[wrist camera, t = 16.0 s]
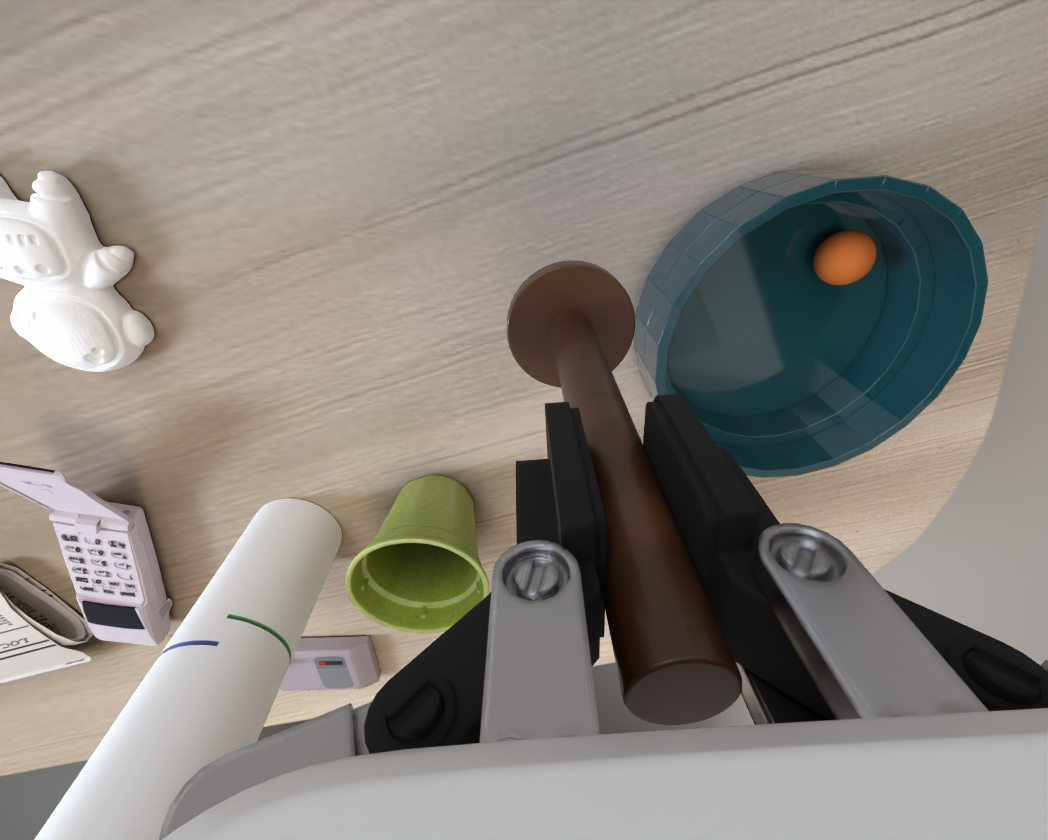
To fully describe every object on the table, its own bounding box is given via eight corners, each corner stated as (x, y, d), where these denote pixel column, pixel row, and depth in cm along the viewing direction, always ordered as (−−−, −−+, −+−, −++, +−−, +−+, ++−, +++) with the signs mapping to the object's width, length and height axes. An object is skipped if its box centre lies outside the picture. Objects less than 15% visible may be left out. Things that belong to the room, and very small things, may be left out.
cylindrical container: (245, 496, 38) (-103, 965, 17) (335, 499, 38) (108, 962, 17) (265, 559, 42) (1, 1008, 20) (347, 561, 42) (173, 1006, 21)
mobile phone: (65, 475, 29) (142, 697, 42) (133, 425, 34) (183, 637, 47) (-43, 459, 29) (68, 690, 41) (43, 411, 34) (118, 629, 46)
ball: (858, 209, 26) (901, 243, 25) (832, 247, 29) (869, 280, 28) (815, 234, 26) (857, 270, 25) (793, 270, 29) (830, 304, 28)
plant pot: (473, 555, 42) (464, 646, 34) (366, 528, 40) (333, 618, 33) (509, 476, 37) (509, 561, 30) (392, 442, 36) (360, 523, 28)
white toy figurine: (120, 180, 26) (77, 185, 24) (167, 374, 32) (136, 395, 30) (-55, 150, 25) (-120, 152, 23) (27, 355, 31) (-17, 375, 29)
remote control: (398, 672, 51) (391, 701, 48) (251, 676, 51) (237, 705, 48) (388, 634, 47) (380, 662, 45) (230, 638, 47) (214, 667, 45)
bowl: (640, 181, 27) (670, 191, 22) (948, 156, 26) (1053, 162, 21) (627, 435, 36) (646, 485, 30) (857, 419, 35) (916, 467, 30)
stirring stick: (504, 261, 18) (484, 572, 5) (637, 258, 18) (951, 557, 5) (509, 381, 20) (504, 788, 8) (625, 378, 20) (814, 778, 8)
